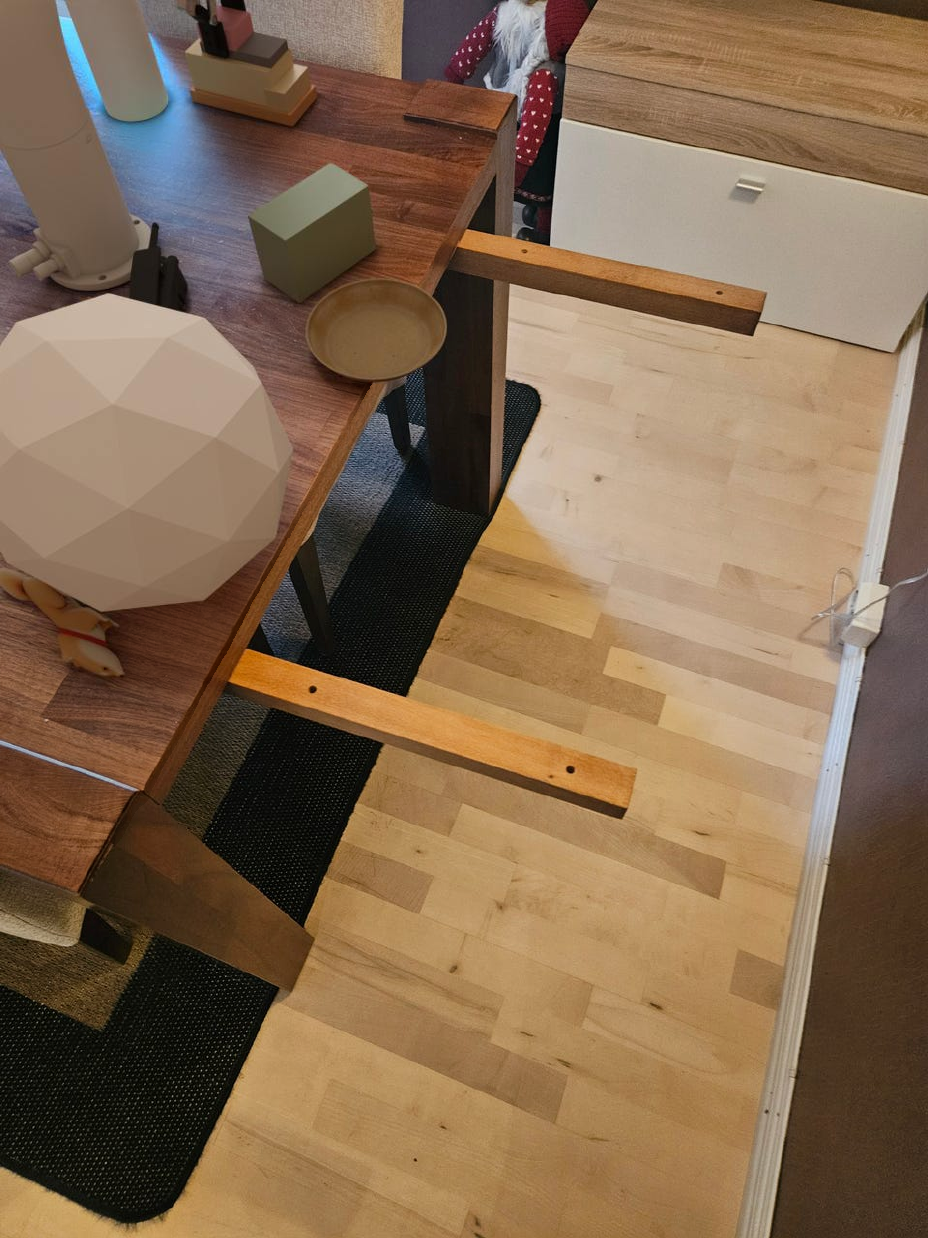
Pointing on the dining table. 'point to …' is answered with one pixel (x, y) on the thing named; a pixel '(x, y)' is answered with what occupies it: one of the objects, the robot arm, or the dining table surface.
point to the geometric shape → (134, 454)
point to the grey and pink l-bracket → (248, 39)
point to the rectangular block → (314, 231)
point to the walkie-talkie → (157, 277)
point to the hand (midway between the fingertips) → (228, 42)
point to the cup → (120, 57)
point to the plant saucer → (376, 329)
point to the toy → (68, 623)
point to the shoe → (251, 86)
